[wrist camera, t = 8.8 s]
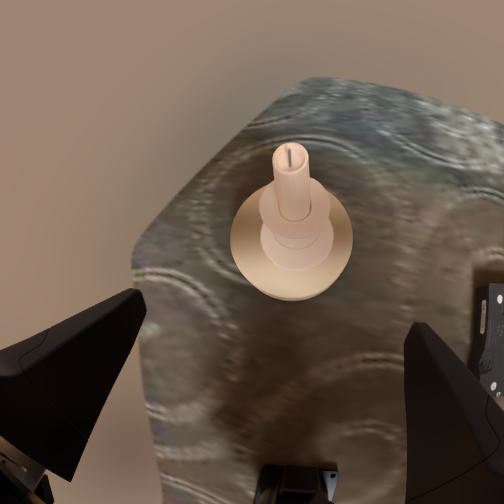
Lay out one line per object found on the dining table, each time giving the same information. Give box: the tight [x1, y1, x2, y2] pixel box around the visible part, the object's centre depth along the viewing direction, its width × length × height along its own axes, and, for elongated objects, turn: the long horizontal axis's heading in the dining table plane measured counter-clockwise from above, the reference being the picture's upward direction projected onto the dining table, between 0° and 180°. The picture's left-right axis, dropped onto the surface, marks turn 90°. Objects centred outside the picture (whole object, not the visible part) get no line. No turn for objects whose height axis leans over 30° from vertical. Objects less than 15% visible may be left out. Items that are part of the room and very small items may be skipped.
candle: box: [259, 142, 334, 272], centre depth 15 cm, size 5×5×10 cm
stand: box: [230, 185, 353, 301], centre depth 21 cm, size 9×9×3 cm
